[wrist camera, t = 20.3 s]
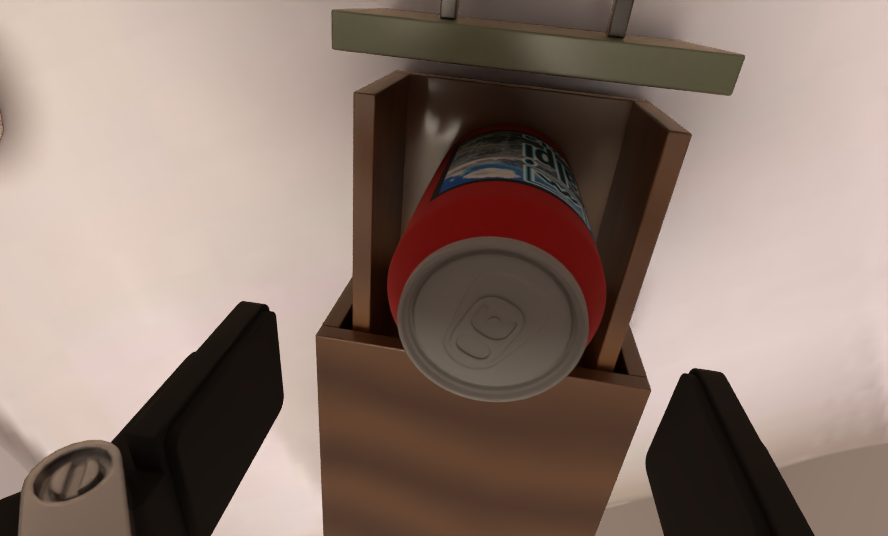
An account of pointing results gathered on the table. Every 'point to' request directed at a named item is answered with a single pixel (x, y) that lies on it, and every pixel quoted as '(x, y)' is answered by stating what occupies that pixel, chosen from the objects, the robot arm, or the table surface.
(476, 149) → the beverage can
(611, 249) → the drawer
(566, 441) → the cabinet
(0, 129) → the foam cup
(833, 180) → the table surface
